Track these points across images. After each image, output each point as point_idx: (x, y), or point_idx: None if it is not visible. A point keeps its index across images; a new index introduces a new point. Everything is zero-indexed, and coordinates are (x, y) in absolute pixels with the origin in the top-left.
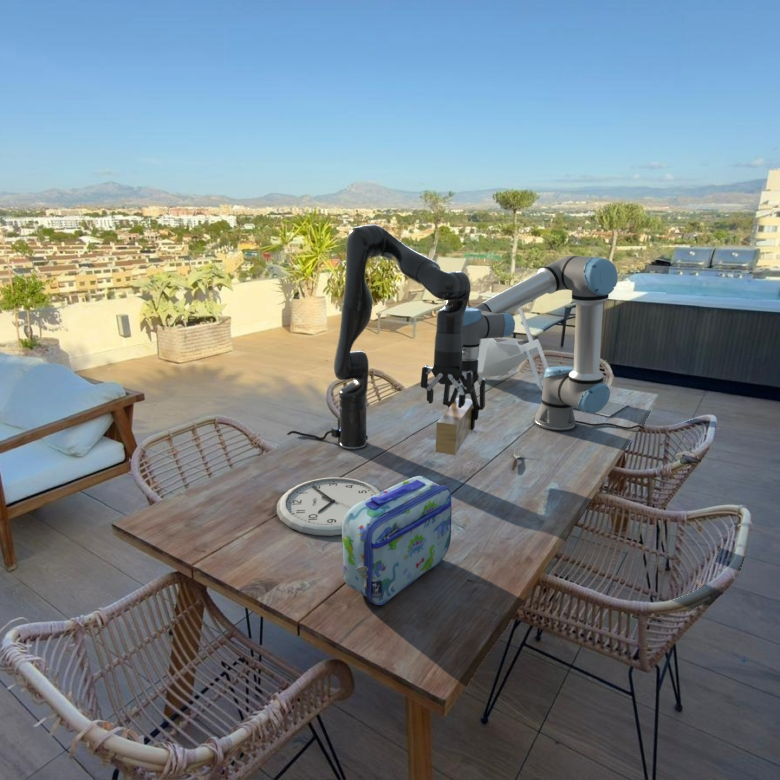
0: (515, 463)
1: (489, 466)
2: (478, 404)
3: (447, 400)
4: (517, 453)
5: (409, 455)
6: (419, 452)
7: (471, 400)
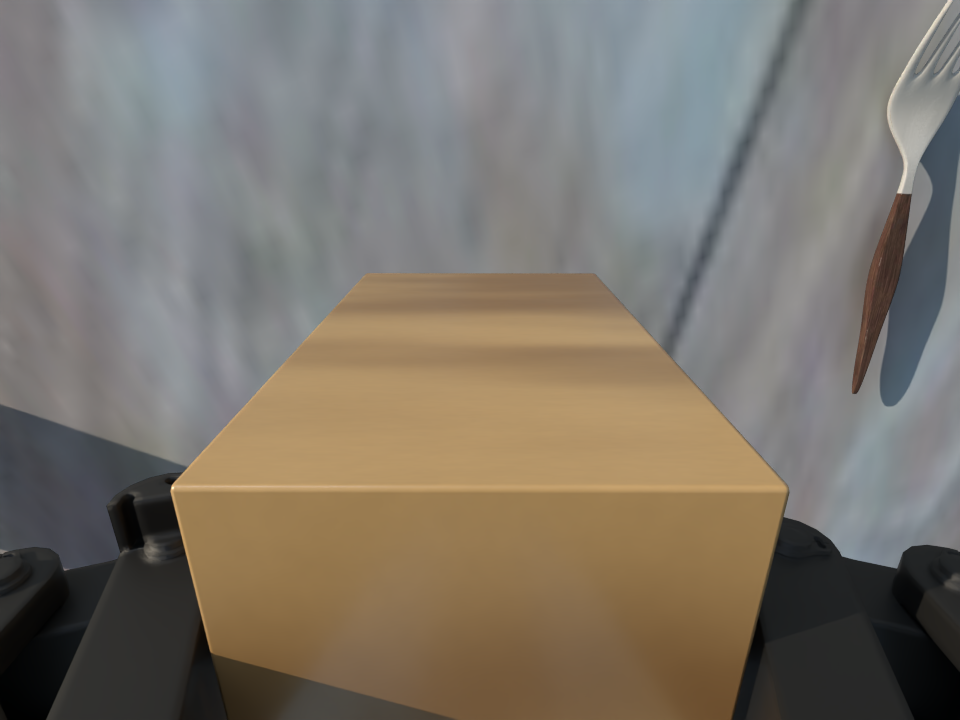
0: (888, 293)
1: (694, 359)
2: (856, 608)
3: (21, 646)
4: (932, 73)
5: (148, 400)
6: (181, 329)
7: (678, 592)
